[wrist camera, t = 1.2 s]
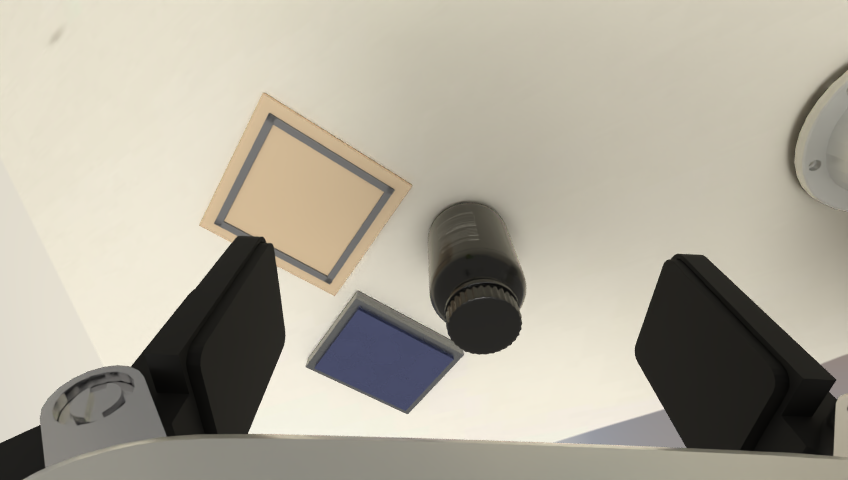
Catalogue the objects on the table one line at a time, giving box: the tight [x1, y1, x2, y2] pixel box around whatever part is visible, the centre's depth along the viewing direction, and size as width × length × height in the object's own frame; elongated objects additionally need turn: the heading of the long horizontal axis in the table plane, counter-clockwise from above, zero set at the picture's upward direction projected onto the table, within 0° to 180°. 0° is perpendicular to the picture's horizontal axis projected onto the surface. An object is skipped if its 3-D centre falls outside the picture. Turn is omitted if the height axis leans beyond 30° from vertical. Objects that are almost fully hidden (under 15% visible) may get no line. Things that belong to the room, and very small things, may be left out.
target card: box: [199, 93, 412, 296], centre depth 37 cm, size 13×13×1 cm
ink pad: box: [306, 291, 464, 414], centre depth 44 cm, size 12×10×2 cm
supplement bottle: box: [428, 203, 526, 354], centre depth 34 cm, size 7×7×12 cm
